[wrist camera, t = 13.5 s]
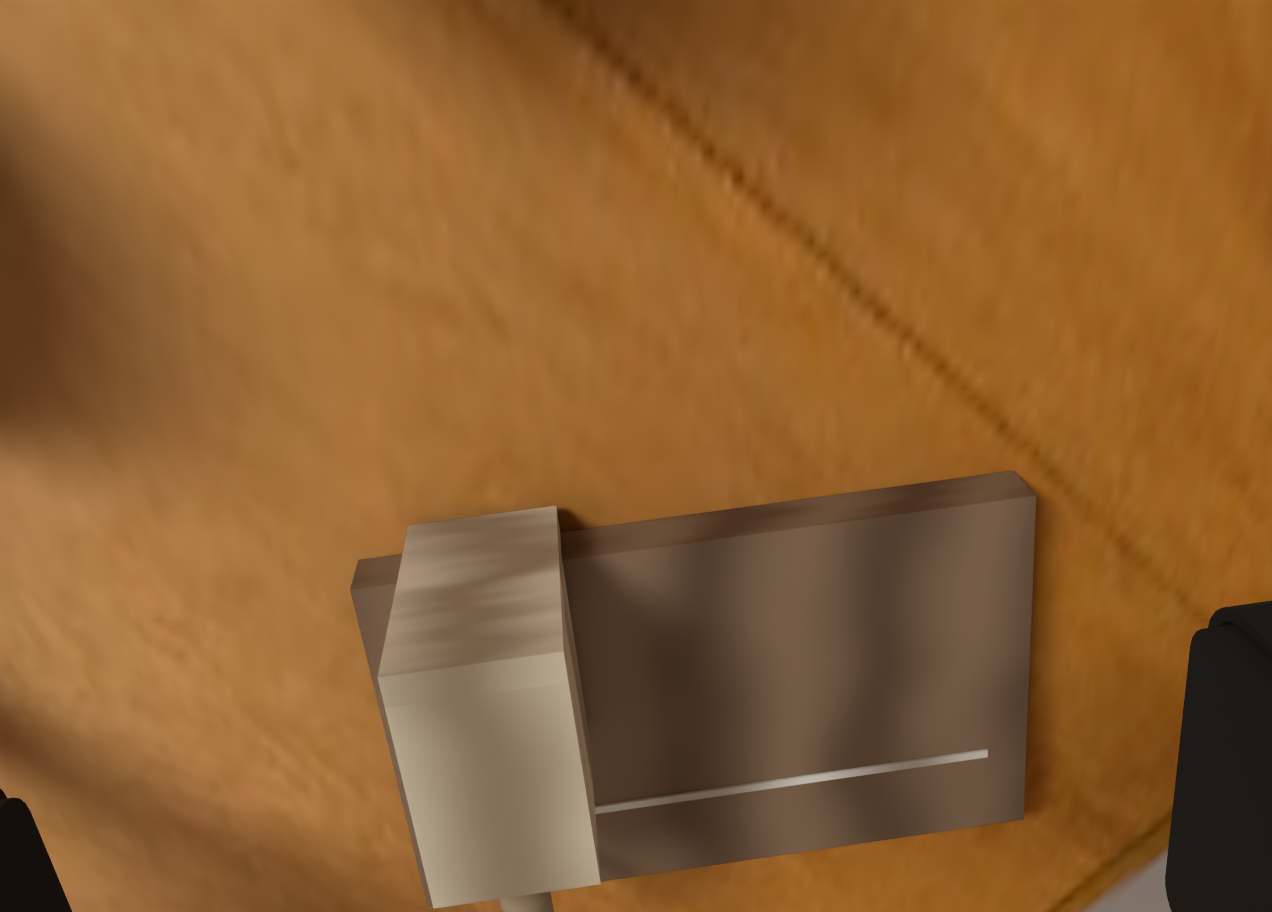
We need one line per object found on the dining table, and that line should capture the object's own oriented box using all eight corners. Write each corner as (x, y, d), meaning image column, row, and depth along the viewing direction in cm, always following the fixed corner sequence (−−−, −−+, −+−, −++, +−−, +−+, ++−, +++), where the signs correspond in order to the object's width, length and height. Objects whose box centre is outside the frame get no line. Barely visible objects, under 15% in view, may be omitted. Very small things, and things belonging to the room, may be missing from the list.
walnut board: (1013, 470, 41) (1037, 497, 39) (1004, 784, 46) (1024, 821, 44) (358, 560, 40) (349, 591, 38) (431, 868, 46) (427, 908, 44)
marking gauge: (555, 505, 39) (563, 651, 31) (601, 801, 44) (618, 991, 36) (408, 525, 39) (377, 677, 31) (471, 820, 44) (459, 1015, 36)
